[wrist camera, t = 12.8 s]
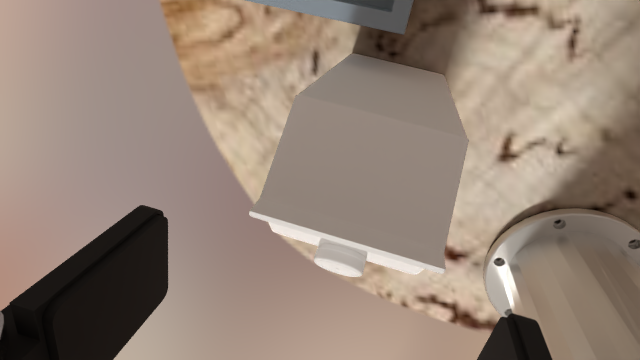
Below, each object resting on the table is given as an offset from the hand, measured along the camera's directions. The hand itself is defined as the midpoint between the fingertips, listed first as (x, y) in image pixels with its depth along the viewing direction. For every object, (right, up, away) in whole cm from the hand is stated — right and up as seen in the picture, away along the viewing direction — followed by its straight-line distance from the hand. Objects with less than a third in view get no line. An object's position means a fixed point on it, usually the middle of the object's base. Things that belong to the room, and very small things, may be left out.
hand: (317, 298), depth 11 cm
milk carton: (+5, +9, +20) cm, 22 cm away
